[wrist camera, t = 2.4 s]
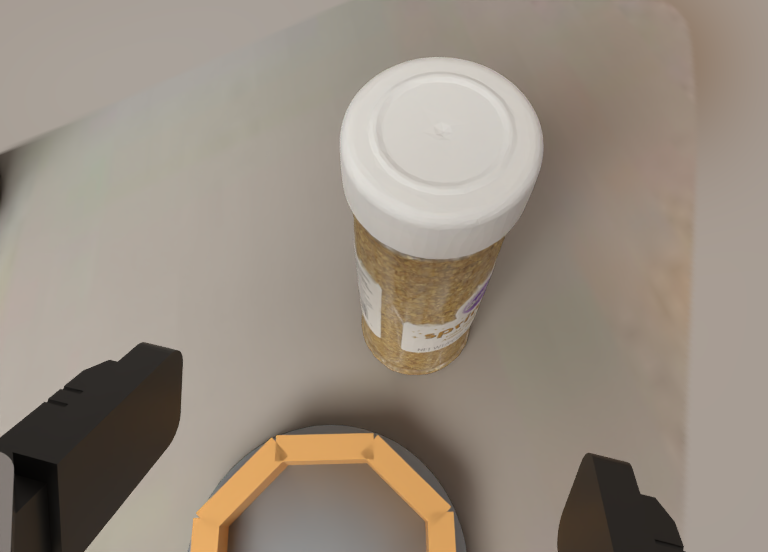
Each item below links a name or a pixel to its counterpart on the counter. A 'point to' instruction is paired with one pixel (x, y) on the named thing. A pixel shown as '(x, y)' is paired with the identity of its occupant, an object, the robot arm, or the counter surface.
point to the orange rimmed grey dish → (328, 498)
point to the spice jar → (433, 200)
